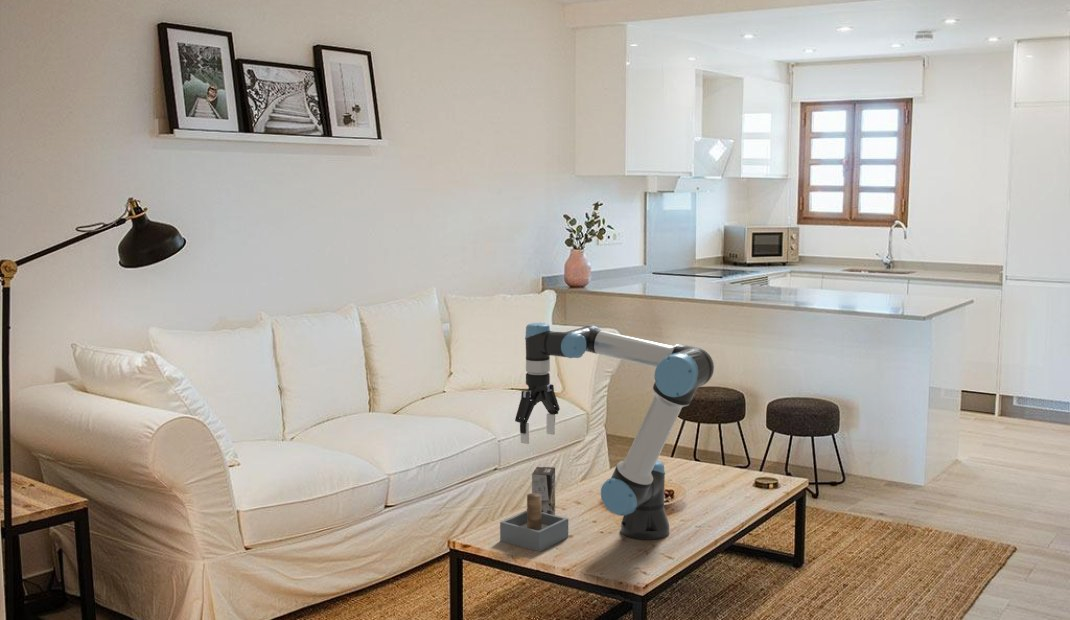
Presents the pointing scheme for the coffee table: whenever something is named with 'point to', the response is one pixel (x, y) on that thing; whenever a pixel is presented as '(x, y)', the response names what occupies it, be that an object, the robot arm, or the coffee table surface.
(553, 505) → the coffee box
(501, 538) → the bin
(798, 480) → the coffee table surface
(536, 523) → the peg
